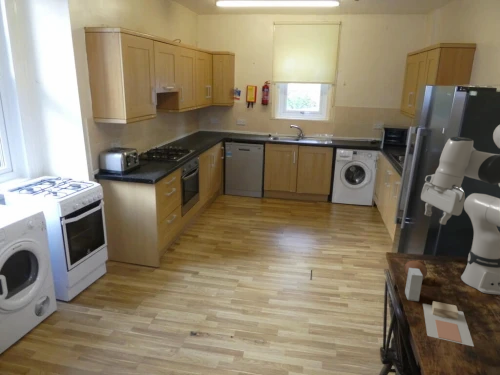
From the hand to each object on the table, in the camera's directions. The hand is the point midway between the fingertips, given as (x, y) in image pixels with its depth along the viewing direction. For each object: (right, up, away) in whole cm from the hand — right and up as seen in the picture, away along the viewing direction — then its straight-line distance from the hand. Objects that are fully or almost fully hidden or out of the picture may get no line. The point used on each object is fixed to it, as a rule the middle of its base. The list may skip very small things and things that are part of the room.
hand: (434, 219), depth 127 cm
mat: (+5, -38, +2) cm, 39 cm away
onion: (+7, -30, +32) cm, 44 cm away
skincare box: (0, -34, +18) cm, 38 cm away
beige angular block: (+7, -36, +7) cm, 38 cm away
